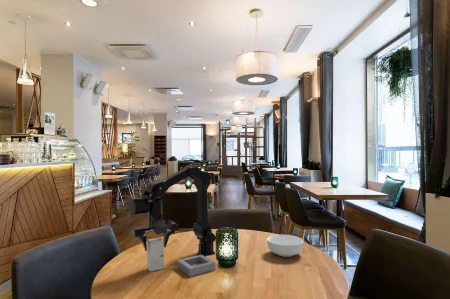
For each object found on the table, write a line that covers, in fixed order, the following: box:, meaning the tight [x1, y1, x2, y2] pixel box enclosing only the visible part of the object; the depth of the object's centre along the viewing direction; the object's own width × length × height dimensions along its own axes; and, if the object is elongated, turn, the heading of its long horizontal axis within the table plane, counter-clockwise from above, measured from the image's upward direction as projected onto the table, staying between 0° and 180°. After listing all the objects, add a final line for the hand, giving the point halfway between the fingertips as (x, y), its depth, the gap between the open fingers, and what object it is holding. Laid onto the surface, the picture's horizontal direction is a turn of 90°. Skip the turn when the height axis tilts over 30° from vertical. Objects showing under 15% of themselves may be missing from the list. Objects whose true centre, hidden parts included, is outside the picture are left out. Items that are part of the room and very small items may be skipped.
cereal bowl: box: [266, 234, 304, 258], centre depth 137 cm, size 17×17×7 cm
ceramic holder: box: [176, 254, 217, 278], centre depth 121 cm, size 12×12×3 cm
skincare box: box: [146, 237, 165, 272], centre depth 121 cm, size 6×4×12 cm
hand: (155, 249), depth 121 cm, fingers open, 8 cm apart
